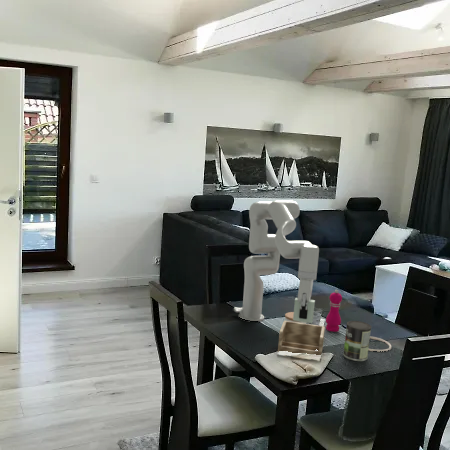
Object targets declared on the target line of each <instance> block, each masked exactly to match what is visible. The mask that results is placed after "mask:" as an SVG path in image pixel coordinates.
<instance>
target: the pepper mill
mask: <svg viewBox="0 0 450 450" xmlns="http://www.w3.org/2000/svg"><path fill="white" fill-rule="evenodd" d="M328 299H329V301H330V302H329V306H330V309H329V312H328V314H327V316H326V318H325V323H326V325H325V330H326V331H328V332H332V333H334V332H335V333H336V332H339V331H340V325H341V323H342V318H341V315H340V312H339V310H340V307H341V302H342V301H343V296H342V295H341V293H339V290H338V289H335V290H334V292H331V293H330V295H329V298H328Z"/></svg>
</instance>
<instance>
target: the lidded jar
mask: <svg viewBox="0 0 450 450" xmlns="http://www.w3.org/2000/svg"><path fill="white" fill-rule="evenodd" d="M293 315H294V311H290V312H289V311H288V312H286V313H285V315H284V321H290V322H297V323H304V324H306V323H307V324H308V322H301V321H294V320H293Z"/></svg>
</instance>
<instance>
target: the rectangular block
mask: <svg viewBox="0 0 450 450" xmlns="http://www.w3.org/2000/svg"><path fill="white" fill-rule="evenodd" d="M297 300H298V297H295V299H294V303H293V304H294V307H293V312H294V315H293V320H294V321H301V322H307V324H313V322H314V312H315V305H316V304H315V303H316V300H314V299H310V301H309V303H308V305H307V310H308V311H307V319H301V318H299V312H300V306H301V301H300V302H298V301H297ZM306 302H307V301H306ZM305 305H306V304H305Z"/></svg>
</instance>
